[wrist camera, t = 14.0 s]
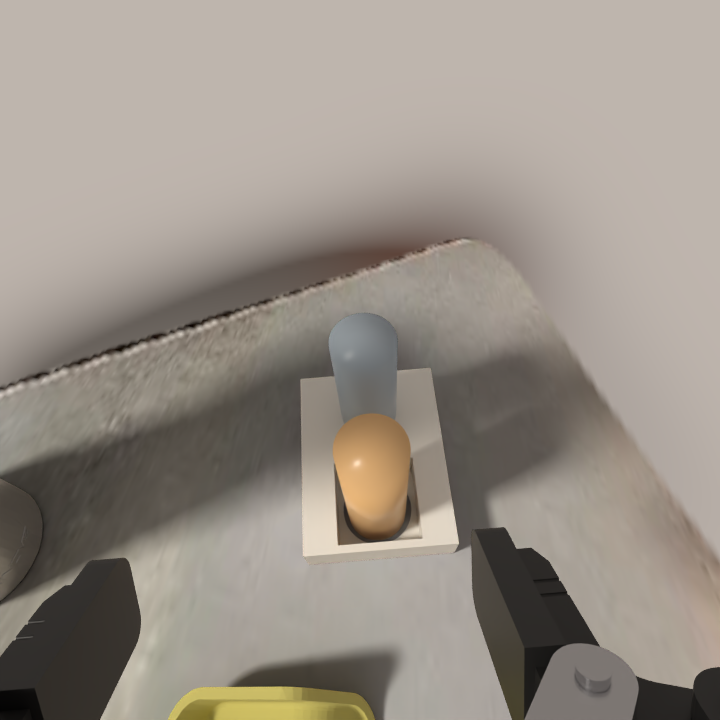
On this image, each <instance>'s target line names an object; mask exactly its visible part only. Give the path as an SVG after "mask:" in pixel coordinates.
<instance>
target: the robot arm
mask: <svg viewBox="0 0 720 720" xmlns="http://www.w3.org/2000/svg"><path fill="white" fill-rule="evenodd" d="M42 528H43V523H42V517H41V512H40V510H39V508H38V506H37V503H36V502H35V501H34V499H33V498H32V497H31V496H30V495H29V494H28V493H26V492H25V491H23V490H21V489H20V488H18V487H16V486H14V485H12V484H10V483H8V482H6V481H4V480H2V479H0V601H1V600H2V599H3V598H4V597H6V596H7V595H8V594H9V593H10V592H12V590H13V589H14V588H15V587H16V586H17V585H18V584H19V583H20V582H21V581H22V580H23V578H24V577H25V575H26V574H27V572H28V571H29V569H30V568H31V566H32V564H33V562H34V560H35V558H36V555H37V553H38V551H39V547H40V543H41V539H42ZM471 549H472V589H473V598H474V604H475V609H476V613H477V617H478V620H479V623H480V626H481V629H482V632H483V635H484V638H485V641H486V644H487V646H488V649H489V652H490V655H491V658H492V661H493V664H494V667H495V670H496V673H497V676H498V679H499V682H500V685H501V688H502V691H503V694H504V697H505V700H506V703H507V706H508V709H509V712H510V715H511V718H512V720H720V667H717V668H710V669H706V670H704V671H702V672H700V673H699V674H698V675H697V676H696V678H695V680H694V685H693V689H689V688H683V687H678V686H672V685H667V684H662V683H656V682H652V681H648V680H645V679H642V678H639V677H637V676H635V674H634V672H633V671H632V669H631V668H630V667H629V665H628V664H627V663H626V662H625V661H623V660H622V659H621V658H620V657H618V656H617V655H616V654H614V653H612V652H610V651H609V650H606V649H604V648H602V647H600V646H599V644H598V642H597V641H596V639H595V637H594V636H593V634H592V632H591V631H590V629H589V627H588V626H587V624H586V622H585V621H584V619H583V617H582V616H581V614H580V612H579V611H578V609H577V607H576V606H575V604H574V602H573V601H572V599H571V597H570V596H569V595H568V594H567V591H566V589H565V587H564V586H563V584H562V582H561V581H559V577H558V576H557V574H556V572H555V571H554V569H553V567H552V566H551V564H550V562H549V561H548V560H546V559H545V558H544V557H543V556H541V555H540V554H539V553H537V552H536V551H535V550H533V549H532V548H523V549H516V547H515V545H514V543H513V541H512V539H511V537H510V536H509V534H508V532H507V530H506V529H505V528H504V527H501V528H489V529H477V530H472V534H471ZM140 628H141V615H140V609H139V605H138V600H137V595H136V591H135V586H134V581H133V577H132V572H131V568H130V564H129V562H128V560H127V559H126V558H116V559H104V560H92V561H90V562H88V563H87V564H86V566H85V567H84V568H83V570H82V571H81V572H80V574H79V575H78V576H77V578H76V579H75V581H74V582H73V583H72V585H66V586H64V587H62V588H61V589H60V590H58V591H57V592H56V593H55V594H53V595H52V596H51V597H49V598H48V599H47V600H45V601H44V602H43V603H42V604H41V606H40V607H39V608H38V609H37V611H36V612H35V613H34V614H33V616H32V617H31V618H30V620H29V621H28V625H25V626H24V627H23V629H22V630H21V631H20V632H19V634H18V635H17V636H16V640H15V641H12V643H11V644H10V645H9V646H8V648H7V649H6V650H5V651H4V653H3V654H2V655H1V657H0V720H100V718H101V716H102V714H103V712H104V710H105V708H106V706H107V704H108V702H109V700H110V698H111V696H112V694H113V692H114V690H115V687H116V685H117V683H118V681H119V679H120V677H121V675H122V673H123V671H124V669H125V667H126V665H127V663H128V661H129V659H130V657H131V655H132V653H133V650H134V648H135V646H136V644H137V642H138V638H139V634H140Z"/></svg>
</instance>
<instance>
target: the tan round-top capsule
mask: <svg viewBox="0 0 720 720" xmlns="http://www.w3.org/2000/svg"><path fill="white" fill-rule="evenodd" d="M410 455H411V446H410V441H409V438H408V435H407V433H406V432H405V430H404V429H403V427H402V426H401V425H400V424H399V423H398V422H396V421H395V420H394V419H392V418H390V417H388V416H385V415H382V414H376V413H369V414H362V415H359V416H356V417H354V418H352V419H350V420H349V421H348V422H346V423H345V424H344V425H343V426H342V427H341V428H340V430H339V431H338V433H337V435H336V437H335V439H334V443H333V458H334V462H335V466H336V470H337V473H338V477H339V481H340V485H341V488H342V492H343V496H344V499H345V503H346V507H347V511H348V514H349V518H350V521H351V524H352V526H353V527H354V529H355V530H356V531H357V532H358V533H359V534H360V535H361V536H363V537H365V538H367V539H370V540H385V539H387V538H390V537H392V536H393V535H395V534H396V533H397V532H398V531H399V530H400V528H401V527H402V525H403V523H404V519H405V513H406V501H407V490H408V478H409V466H410Z"/></svg>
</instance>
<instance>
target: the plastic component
mask: <svg viewBox="0 0 720 720" xmlns="http://www.w3.org/2000/svg"><path fill="white" fill-rule="evenodd" d="M168 720H375V718H374V715H373V712H372V710H371V708H370V706H369V704H368V703H367V702H366V701H365V700H364V698H363V697H361V696H360V695H358V694H356V693H350V692H341V691H332V690H323V689H313V688H303V687H200V688H197V689H194V690H192V691H190V692H189V693H187V694H186V695H184V697H183V698H182V699H181V700H180V701H179V702H178V703H177V704H176V706H175V707H174V709H173V711H172V712H171V714H170V716H169V718H168Z"/></svg>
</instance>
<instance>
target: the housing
mask: <svg viewBox="0 0 720 720" xmlns="http://www.w3.org/2000/svg"><path fill="white" fill-rule="evenodd" d="M397 350H398V338H397V334H396V331H395V329H394V327H393V326H392V325H391V324H390V323H389V322H388V321H387V320H386V319H384V318H382V317H380V316H378V315H375V314H371V313H358V314H353V315H350V316H347V317H345V318H344V319H342V320H341V321H339V322H338V323H337V324H336V325H335V326H334V328H333V329H332V331H331V333H330V336H329V351H330V356H331V361H332V366H333V372H334V376H329V377H317V378H306V379H300V387H301V452H302V518H303V557H304V559H305V560H306V561H307V563H308V564H309V565H315V564H327V563H339V562H350V561H362V560H374V559H386V558H398V557H410V556H422V555H433V554H445V553H454V552H455V550H456V548H457V546H458V544H459V540H458V534H457V528H456V522H455V516H454V509H453V503H452V497H451V491H450V485H449V478H448V472H447V466H446V460H445V454H444V447H443V441H442V435H441V429H440V422H439V416H438V410H437V404H436V398H435V391H434V385H433V379H432V373H431V368H421V369H410V370H398V371H397ZM369 413H376V414H382V415H385V416H388V417H390V418H392V419H394V420H395V421H396V422H398V423H399V424H400V425H401V426H402V427H403V429H404V430H405V432H406V433H407V435H408V438H409V441H410V446H411V455H410V466H409V478H408V490H407V501H406V513H405V519H404V523H403V525H402V527H401V528H400V530H399V531H398V532H397V533H396V534H395V535H393V536H392V537H390V538H387V539H385V540H370V539H367V538H365V537H363V536H361V535H360V534H359V533H358V532H357V531H356V530H355V529H354V527H353V526H352V524H351V521H350V518H349V514H348V511H347V507H346V503H345V499H344V496H343V492H342V488H341V485H340V481H339V477H338V473H337V470H336V466H335V462H334V458H333V443H334V439H335V437H336V435H337V433H338V431H339V430H340V428H341V427H342V426H343V425H344V424H345V423H346V422H348V421H349V420H350V419H352V418H354V417H356V416H359V415H362V414H369Z"/></svg>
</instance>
